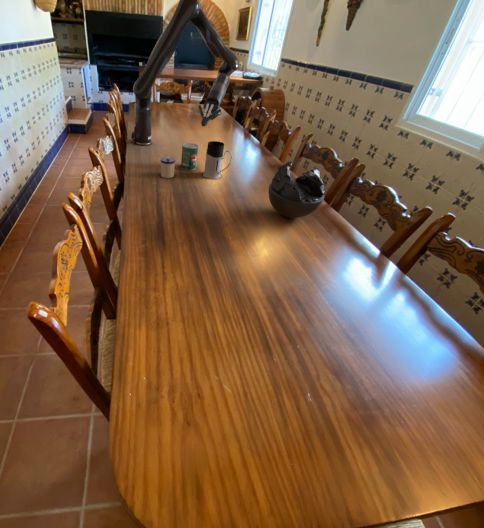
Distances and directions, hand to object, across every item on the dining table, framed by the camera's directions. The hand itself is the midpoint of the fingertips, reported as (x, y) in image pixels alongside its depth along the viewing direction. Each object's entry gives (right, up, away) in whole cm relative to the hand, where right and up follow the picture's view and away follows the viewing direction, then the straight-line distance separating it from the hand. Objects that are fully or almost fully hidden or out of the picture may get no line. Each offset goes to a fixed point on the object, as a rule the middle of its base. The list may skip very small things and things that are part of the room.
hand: (203, 125), depth 149 cm
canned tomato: (-7, -21, +2) cm, 22 cm away
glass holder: (+6, -28, -6) cm, 29 cm away
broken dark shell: (+31, -50, -32) cm, 67 cm away
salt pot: (-18, -27, -7) cm, 33 cm away
